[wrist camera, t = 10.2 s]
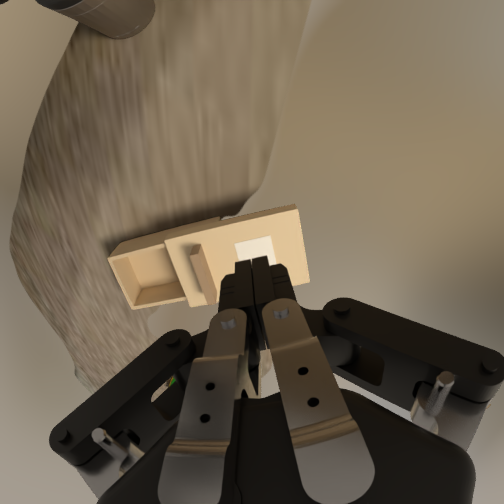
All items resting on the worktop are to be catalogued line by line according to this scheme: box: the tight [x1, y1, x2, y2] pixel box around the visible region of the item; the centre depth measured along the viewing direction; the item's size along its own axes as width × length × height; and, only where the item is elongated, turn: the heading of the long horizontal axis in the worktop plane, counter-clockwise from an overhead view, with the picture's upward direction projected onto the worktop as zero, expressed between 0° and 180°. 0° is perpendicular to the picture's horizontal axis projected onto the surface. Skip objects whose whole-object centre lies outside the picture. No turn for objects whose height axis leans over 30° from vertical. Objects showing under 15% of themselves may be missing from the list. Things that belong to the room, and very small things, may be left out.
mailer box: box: [107, 216, 221, 310], centre depth 45 cm, size 10×18×6 cm, turn 103°
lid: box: [164, 204, 310, 307], centre depth 41 cm, size 12×19×5 cm, turn 103°
